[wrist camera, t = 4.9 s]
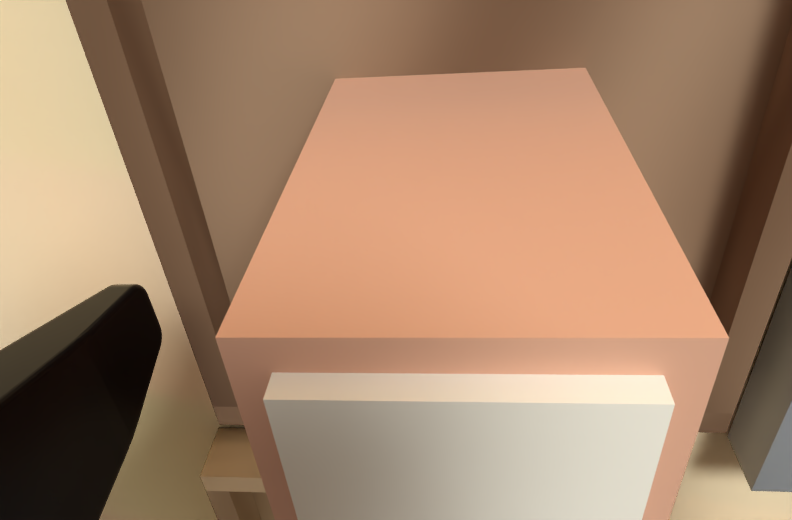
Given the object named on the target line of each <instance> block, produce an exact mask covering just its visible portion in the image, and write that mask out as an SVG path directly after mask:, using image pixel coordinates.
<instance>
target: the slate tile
mask: <svg viewBox="0 0 792 520" xmlns="http://www.w3.org/2000/svg"><path fill="white" fill-rule="evenodd" d="M727 437H728V439H729V441H730V444H731V446H732V448H733V450H734V453H735V455H736V457H737V459H738V462H739V464H740V466H741V468H742V471H743V473H744V475H745V477H746V480H747V482H748V484H749V486H750V489H751V491H780V492H792V267H791V270H790V272H789V275H788V278H787V280H786V283H785V286H784V288H783V291H782V294H781V296H780V299H779V302H778V304H777V307H776V309H775V312H774V315H773V317H772V320H771V323H770V325H769V328H768V331H767V333H766V336H765V339H764V341H763V344H762V347H761V349H760V352H759V354H758V357H757V360H756V362H755V365H754V368H753V370H752V373H751V376H750V378H749V381H748V384H747V386H746V389H745V392H744V394H743V397H742V399H741V402H740V405H739V407H738V410H737V413H736V415H735V418H734V421H733V423H732V426H731V429H730V431H729V434H728V436H727Z"/></svg>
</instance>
